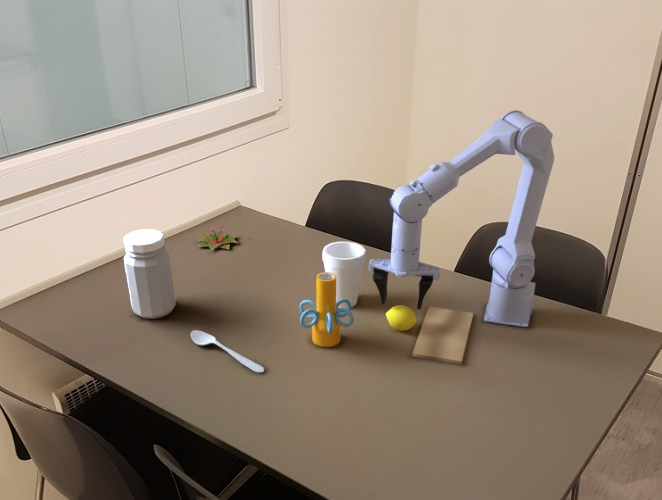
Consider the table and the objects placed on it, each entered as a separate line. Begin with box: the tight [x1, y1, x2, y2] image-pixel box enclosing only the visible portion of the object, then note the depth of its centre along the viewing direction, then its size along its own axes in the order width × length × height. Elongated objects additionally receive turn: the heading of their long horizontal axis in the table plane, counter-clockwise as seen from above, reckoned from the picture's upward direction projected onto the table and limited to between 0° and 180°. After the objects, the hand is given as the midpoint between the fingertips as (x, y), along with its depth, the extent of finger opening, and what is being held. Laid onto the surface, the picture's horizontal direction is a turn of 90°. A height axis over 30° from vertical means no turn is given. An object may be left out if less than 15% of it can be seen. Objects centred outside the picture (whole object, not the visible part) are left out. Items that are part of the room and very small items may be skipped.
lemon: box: [385, 304, 417, 332], centre depth 150 cm, size 7×5×5 cm
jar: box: [123, 228, 177, 320], centre depth 153 cm, size 10×10×18 cm
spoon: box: [190, 329, 265, 374], centre depth 142 cm, size 4×21×2 cm, turn 50°
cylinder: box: [299, 271, 355, 348], centre depth 143 cm, size 12×10×15 cm
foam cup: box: [322, 241, 367, 309], centre depth 158 cm, size 10×9×13 cm
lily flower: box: [196, 225, 239, 252], centre depth 187 cm, size 12×12×5 cm
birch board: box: [411, 306, 474, 365], centre depth 148 cm, size 10×20×1 cm, turn 163°
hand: (401, 304), depth 148 cm, fingers open, 7 cm apart
